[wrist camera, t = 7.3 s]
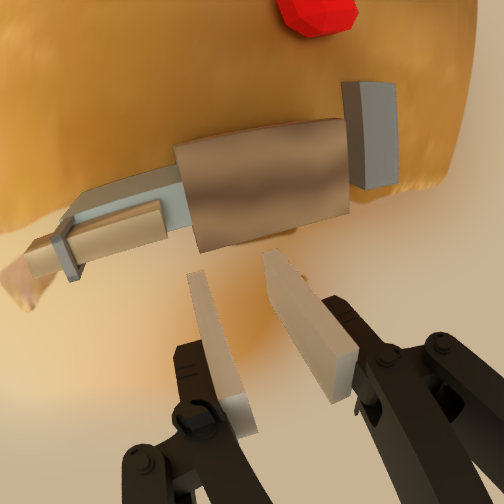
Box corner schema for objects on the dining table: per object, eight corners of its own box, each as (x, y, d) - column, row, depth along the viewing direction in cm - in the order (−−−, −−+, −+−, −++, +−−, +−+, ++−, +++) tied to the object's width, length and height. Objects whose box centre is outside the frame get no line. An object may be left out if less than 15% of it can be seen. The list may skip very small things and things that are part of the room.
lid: (173, 144, 24) (174, 147, 22) (334, 117, 27) (345, 119, 25) (197, 244, 29) (199, 253, 27) (339, 207, 32) (349, 213, 30)
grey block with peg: (82, 192, 29) (44, 240, 18) (176, 163, 31) (186, 195, 20) (92, 223, 31) (64, 284, 20) (183, 196, 33) (199, 245, 22)
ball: (318, -16, 25) (351, -34, 18) (338, 34, 29) (375, 25, 22) (262, -11, 24) (288, -34, 17) (284, 44, 28) (316, 31, 22)
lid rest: (341, 82, 32) (359, 81, 29) (375, 83, 33) (395, 83, 30) (348, 182, 39) (365, 190, 36) (380, 176, 40) (398, 183, 37)
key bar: (34, 239, 21) (23, 254, 19) (159, 198, 23) (159, 209, 21) (44, 262, 22) (34, 279, 20) (166, 224, 25) (167, 238, 22)
